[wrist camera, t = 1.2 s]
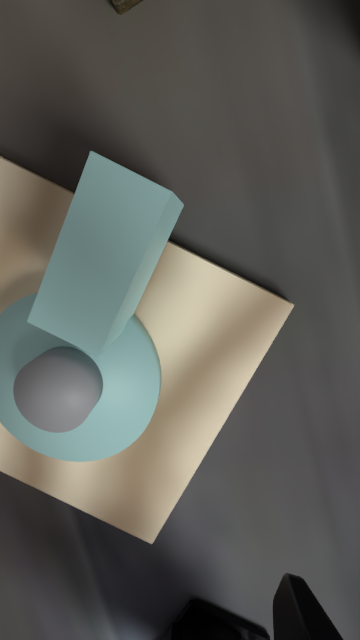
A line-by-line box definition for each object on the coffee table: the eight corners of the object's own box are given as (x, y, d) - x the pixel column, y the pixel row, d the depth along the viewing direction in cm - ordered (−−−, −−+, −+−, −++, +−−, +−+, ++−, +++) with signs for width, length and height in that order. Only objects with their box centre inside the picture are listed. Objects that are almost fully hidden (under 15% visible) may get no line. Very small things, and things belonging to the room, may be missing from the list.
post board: (289, 301, 19) (315, 323, 14) (155, 529, 24) (139, 604, 19) (-3, 154, 19) (-79, 125, 14) (-82, 414, 23) (-160, 461, 18)
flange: (119, 475, 21) (91, 546, 16) (-27, 404, 21) (-100, 454, 16) (245, 235, 17) (257, 234, 12) (64, 144, 17) (3, 106, 12)
